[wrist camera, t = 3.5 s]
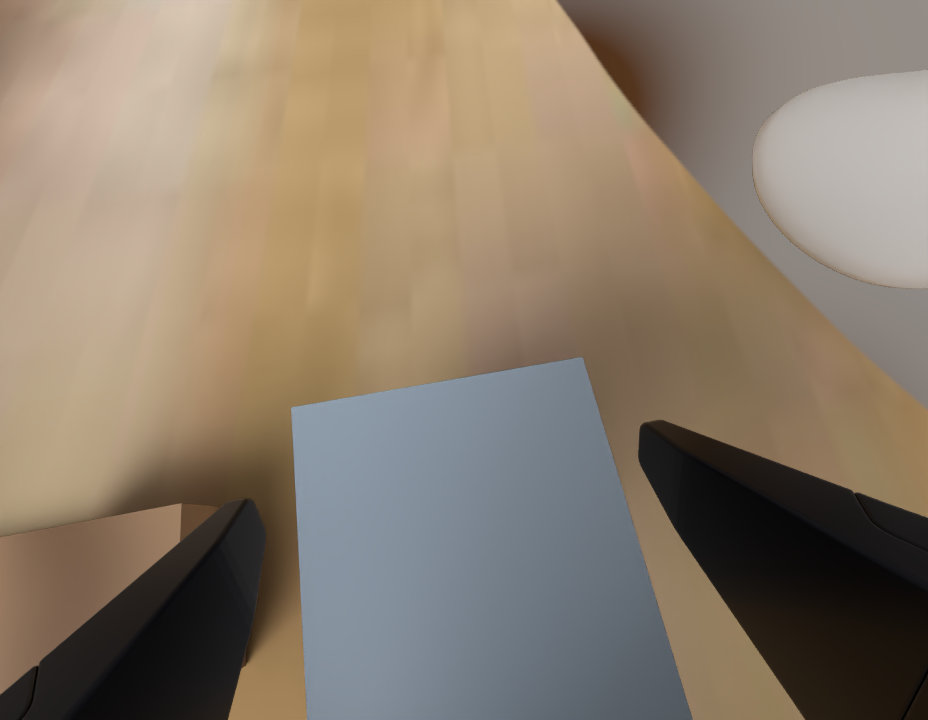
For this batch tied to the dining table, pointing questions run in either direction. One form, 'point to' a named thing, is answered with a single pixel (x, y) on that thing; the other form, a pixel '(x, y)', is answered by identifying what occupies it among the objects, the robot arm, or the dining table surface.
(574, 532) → the blue block
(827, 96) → the flower in vase
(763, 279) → the dining table surface
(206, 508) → the slotted plank
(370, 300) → the dining table surface
